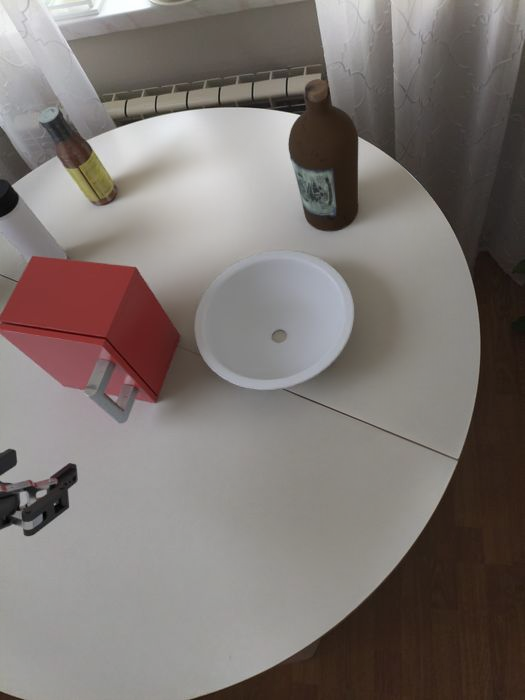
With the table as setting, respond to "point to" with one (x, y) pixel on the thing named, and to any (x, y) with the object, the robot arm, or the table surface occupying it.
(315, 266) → the white sink basin
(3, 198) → the travel mug
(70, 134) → the sauce bottle
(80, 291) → the cabinet
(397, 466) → the table surface
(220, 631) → the table surface
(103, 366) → the red cabinet door
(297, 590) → the table surface
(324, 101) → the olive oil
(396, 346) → the table surface
